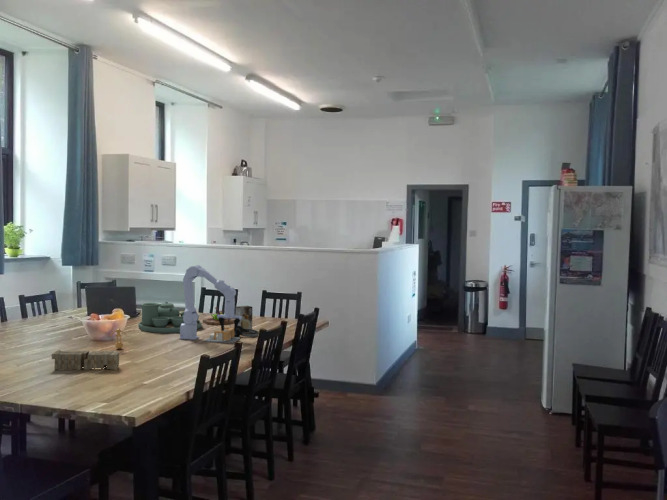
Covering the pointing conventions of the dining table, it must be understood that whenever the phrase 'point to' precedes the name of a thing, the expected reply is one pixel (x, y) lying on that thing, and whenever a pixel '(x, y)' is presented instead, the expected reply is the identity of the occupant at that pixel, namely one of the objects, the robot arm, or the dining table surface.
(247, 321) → the coffee box
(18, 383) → the dining table surface
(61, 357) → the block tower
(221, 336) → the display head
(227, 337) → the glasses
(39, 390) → the dining table surface
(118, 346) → the figurine
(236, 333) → the headset
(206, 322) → the plant
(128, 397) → the dining table surface
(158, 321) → the tea set
